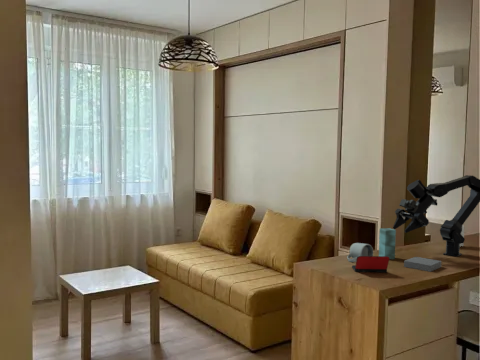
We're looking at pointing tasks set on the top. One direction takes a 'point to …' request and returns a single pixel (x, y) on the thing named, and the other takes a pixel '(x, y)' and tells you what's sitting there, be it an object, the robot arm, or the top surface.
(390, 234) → the teal block
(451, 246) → the robot arm
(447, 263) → the top surface
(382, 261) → the handheld game console
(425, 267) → the gray square slab
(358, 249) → the ceramic mug
